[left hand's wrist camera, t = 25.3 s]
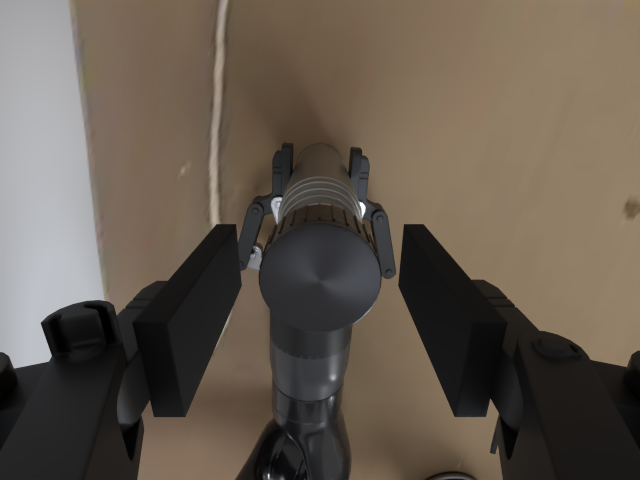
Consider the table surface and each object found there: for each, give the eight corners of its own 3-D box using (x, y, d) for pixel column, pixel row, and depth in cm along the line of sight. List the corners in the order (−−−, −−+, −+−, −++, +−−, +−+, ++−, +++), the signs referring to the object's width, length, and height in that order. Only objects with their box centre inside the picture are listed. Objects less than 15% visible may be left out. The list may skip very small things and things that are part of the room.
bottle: (328, 134, 32) (343, 187, 12) (352, 176, 34) (402, 288, 13) (287, 159, 33) (233, 251, 12) (312, 199, 34) (300, 340, 14)
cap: (276, 191, 13) (268, 208, 11) (386, 215, 14) (399, 236, 11) (258, 288, 15) (248, 321, 13) (357, 308, 15) (364, 343, 13)
